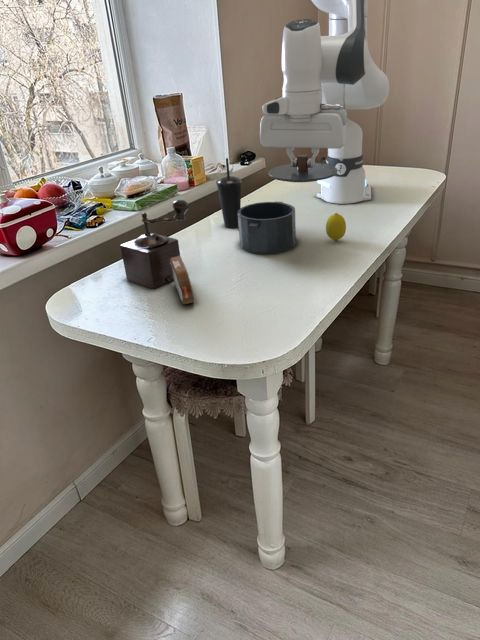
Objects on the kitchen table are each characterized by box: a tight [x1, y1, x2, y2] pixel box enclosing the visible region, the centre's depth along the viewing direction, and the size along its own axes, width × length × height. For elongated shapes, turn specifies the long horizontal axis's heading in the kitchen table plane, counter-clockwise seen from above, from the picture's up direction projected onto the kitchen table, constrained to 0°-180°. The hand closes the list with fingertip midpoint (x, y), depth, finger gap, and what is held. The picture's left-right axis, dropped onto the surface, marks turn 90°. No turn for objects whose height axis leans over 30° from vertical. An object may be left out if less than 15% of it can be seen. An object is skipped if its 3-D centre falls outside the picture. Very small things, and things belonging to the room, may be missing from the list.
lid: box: [267, 154, 338, 183], centre depth 128 cm, size 17×17×5 cm
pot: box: [238, 200, 297, 255], centre depth 148 cm, size 16×21×10 cm
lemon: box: [325, 212, 347, 242], centre depth 148 cm, size 6×6×8 cm
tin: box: [170, 254, 195, 305], centre depth 123 cm, size 15×3×8 cm, turn 17°
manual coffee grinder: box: [120, 199, 190, 290], centre depth 132 cm, size 16×11×18 cm
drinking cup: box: [215, 157, 243, 229], centre depth 160 cm, size 8×8×20 cm
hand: (302, 166), depth 128 cm, fingers closed on lid, 2 cm apart
